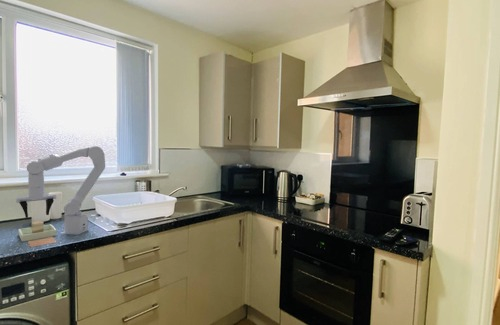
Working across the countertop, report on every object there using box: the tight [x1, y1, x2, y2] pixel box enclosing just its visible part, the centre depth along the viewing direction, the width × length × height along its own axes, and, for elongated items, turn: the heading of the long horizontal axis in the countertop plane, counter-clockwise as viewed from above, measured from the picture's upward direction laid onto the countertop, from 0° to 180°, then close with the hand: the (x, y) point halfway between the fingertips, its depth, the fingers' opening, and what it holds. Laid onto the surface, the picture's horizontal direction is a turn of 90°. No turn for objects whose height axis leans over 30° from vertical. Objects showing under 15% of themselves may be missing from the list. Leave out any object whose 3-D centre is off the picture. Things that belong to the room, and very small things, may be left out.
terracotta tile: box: [27, 236, 57, 248], centre depth 120 cm, size 9×9×1 cm
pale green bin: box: [18, 223, 58, 242], centre depth 128 cm, size 13×13×3 cm
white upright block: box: [47, 191, 64, 220], centre depth 159 cm, size 7×7×15 cm
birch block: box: [30, 221, 45, 234], centre depth 128 cm, size 4×4×6 cm
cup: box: [30, 199, 51, 223], centre depth 150 cm, size 8×8×14 cm
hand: (37, 216), depth 128 cm, fingers open, 7 cm apart
